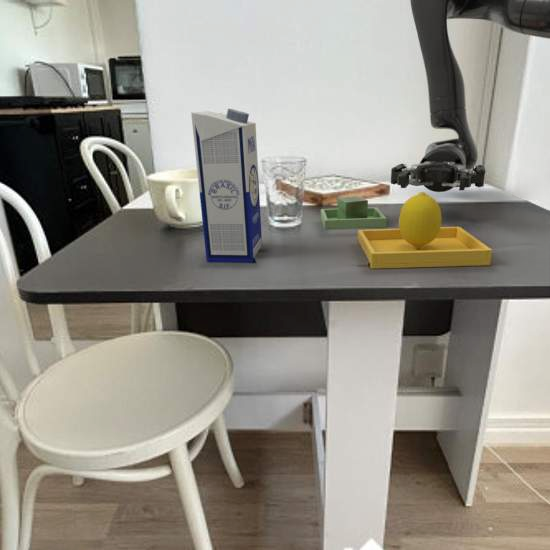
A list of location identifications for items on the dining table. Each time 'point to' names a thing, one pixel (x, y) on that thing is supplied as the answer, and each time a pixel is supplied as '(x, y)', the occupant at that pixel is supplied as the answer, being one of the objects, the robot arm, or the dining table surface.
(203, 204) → the milk carton
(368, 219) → the green tray
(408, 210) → the lemon
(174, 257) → the dining table surface
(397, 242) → the yellow tray
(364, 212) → the green block
